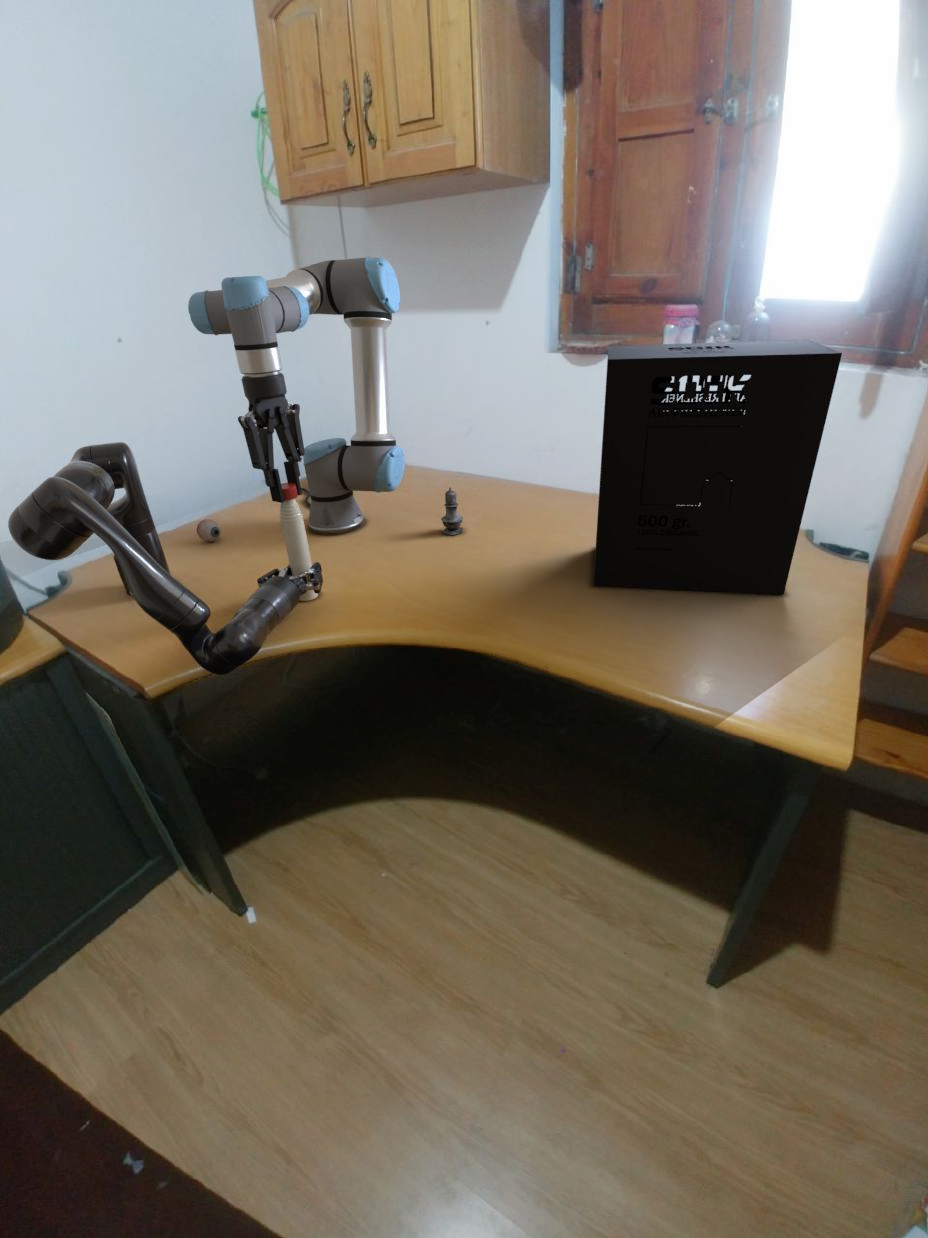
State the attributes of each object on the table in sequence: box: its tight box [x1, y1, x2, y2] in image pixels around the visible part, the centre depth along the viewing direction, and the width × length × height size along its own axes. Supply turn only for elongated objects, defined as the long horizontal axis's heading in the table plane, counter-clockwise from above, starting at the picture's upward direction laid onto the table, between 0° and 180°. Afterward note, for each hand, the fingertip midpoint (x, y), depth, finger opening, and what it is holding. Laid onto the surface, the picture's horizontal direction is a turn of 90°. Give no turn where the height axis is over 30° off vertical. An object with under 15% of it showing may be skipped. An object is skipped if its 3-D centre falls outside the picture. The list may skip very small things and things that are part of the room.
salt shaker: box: [440, 487, 464, 536], centre depth 158 cm, size 6×6×12 cm
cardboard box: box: [593, 339, 843, 595], centre depth 123 cm, size 38×20×45 cm, turn 78°
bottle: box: [279, 498, 319, 602], centre depth 126 cm, size 4×4×24 cm
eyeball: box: [196, 518, 222, 543], centre depth 162 cm, size 6×6×6 cm
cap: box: [281, 482, 299, 501], centre depth 121 cm, size 4×4×2 cm
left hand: (307, 565), depth 132 cm, fingers closed on bottle, 4 cm apart
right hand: (287, 497), depth 121 cm, fingers closed on cap, 4 cm apart
